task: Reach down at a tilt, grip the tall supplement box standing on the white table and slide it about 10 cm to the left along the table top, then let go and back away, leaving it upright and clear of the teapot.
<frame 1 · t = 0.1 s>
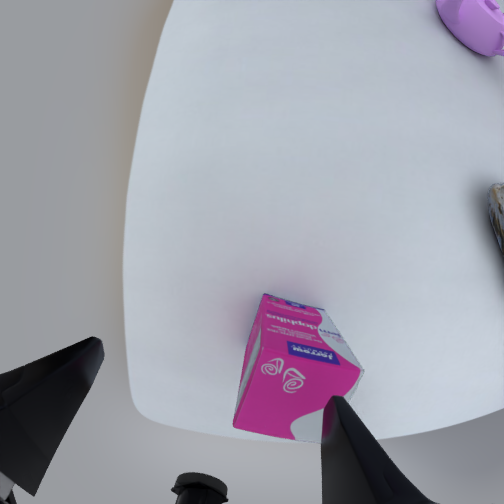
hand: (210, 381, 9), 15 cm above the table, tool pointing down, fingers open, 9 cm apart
teapot: (462, 28, 19), on the table
supplement box: (284, 327, 24), on the table
seashell: (502, 242, 22), on the table
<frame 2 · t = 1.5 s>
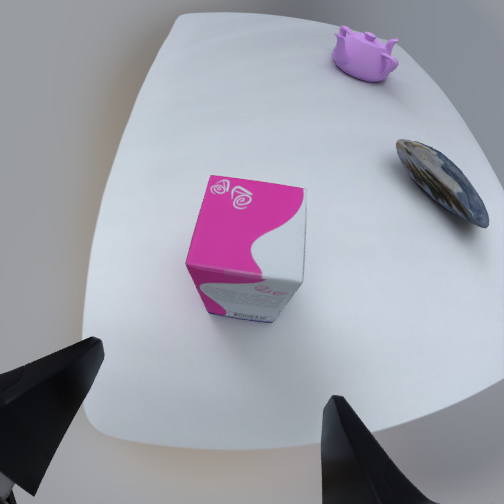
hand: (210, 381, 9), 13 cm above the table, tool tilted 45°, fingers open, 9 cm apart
teapot: (357, 69, 42), on the table
supplement box: (244, 287, 24), on the table
seashell: (435, 198, 30), on the table
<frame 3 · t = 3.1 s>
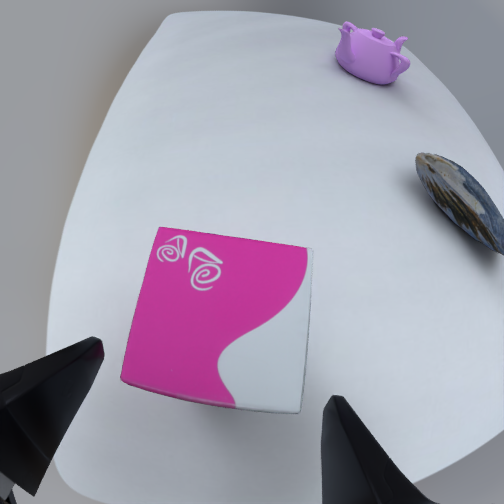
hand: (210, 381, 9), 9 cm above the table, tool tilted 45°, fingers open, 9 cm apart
teapot: (363, 70, 37), on the table
supplement box: (228, 347, 19), on the table
seashell: (456, 221, 25), on the table
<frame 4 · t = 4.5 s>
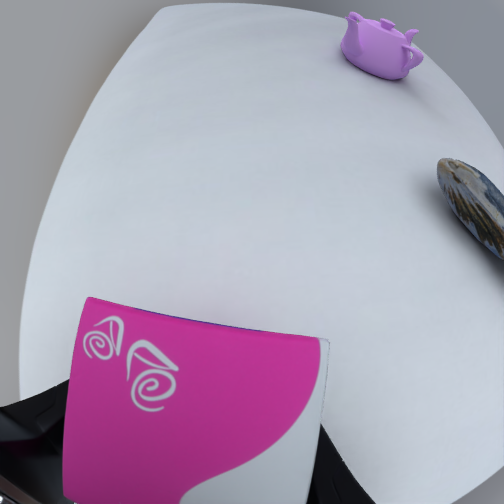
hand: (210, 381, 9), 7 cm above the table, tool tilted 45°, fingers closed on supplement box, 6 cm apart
teapot: (371, 64, 33), on the table
supplement box: (215, 396, 15), on the table, touching gripper
seashell: (477, 236, 21), on the table
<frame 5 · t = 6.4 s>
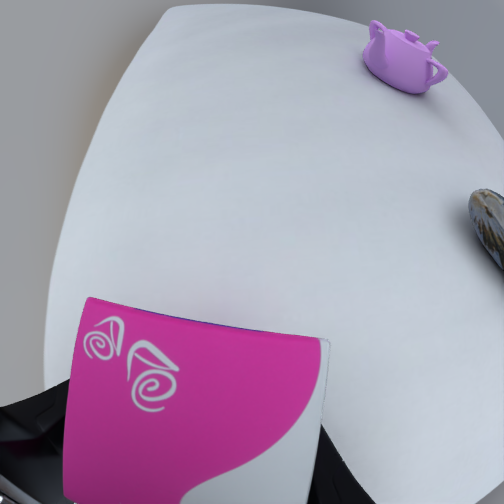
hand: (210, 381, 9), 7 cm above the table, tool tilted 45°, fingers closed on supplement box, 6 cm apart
teapot: (392, 76, 32), on the table
supplement box: (215, 397, 15), on the table, touching gripper
seashell: (498, 261, 20), on the table
when the fingers open (7 cm above the table, at t = 8.3 s): supplement box stays where it is, on the table.
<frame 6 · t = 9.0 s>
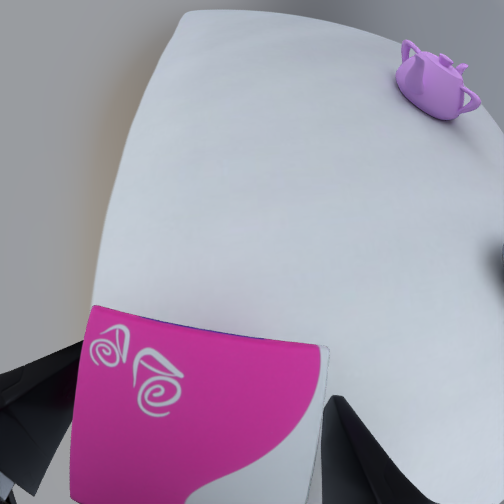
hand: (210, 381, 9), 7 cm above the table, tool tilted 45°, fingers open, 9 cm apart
teapot: (423, 100, 31), on the table
supplement box: (216, 398, 15), on the table
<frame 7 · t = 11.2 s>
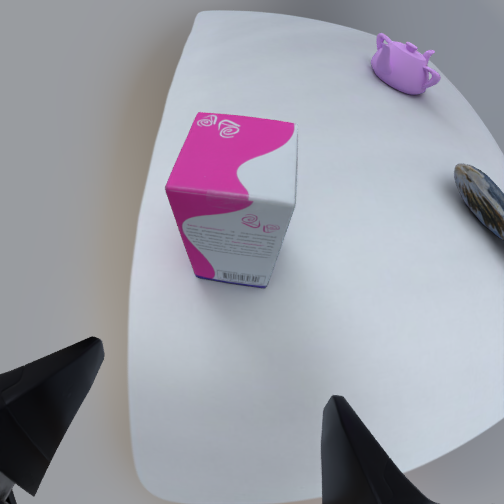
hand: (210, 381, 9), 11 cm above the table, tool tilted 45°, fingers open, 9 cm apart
teapot: (395, 80, 39), on the table
supplement box: (235, 250, 23), on the table
seashell: (482, 222, 27), on the table
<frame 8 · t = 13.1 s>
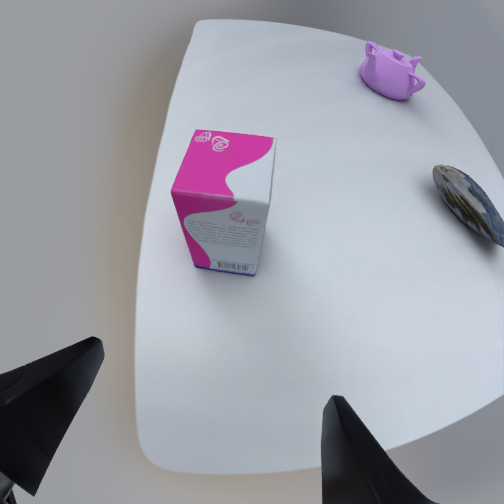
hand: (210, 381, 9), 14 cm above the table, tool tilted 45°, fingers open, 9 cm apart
teapot: (383, 86, 42), on the table
supplement box: (229, 244, 26), on the table
seashell: (463, 219, 30), on the table
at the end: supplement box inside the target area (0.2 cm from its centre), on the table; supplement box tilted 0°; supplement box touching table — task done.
